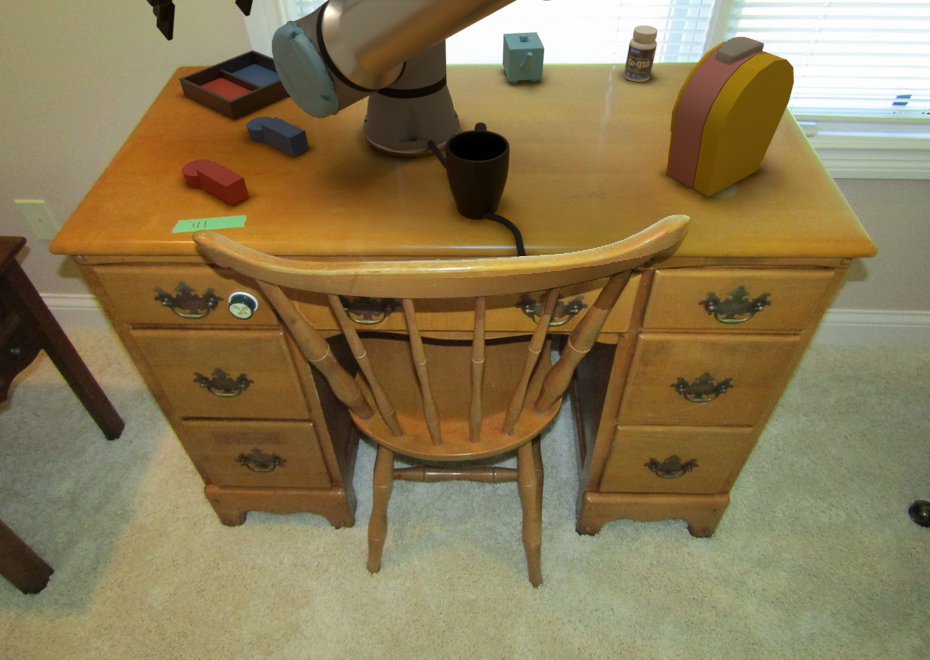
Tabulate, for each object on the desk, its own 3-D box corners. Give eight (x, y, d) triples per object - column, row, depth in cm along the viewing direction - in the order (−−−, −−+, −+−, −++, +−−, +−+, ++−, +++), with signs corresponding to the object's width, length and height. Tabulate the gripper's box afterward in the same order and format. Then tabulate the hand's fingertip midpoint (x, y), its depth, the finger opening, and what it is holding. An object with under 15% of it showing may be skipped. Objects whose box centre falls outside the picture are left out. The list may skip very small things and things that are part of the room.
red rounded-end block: (254, 194, 90) (248, 174, 88) (227, 208, 88) (220, 189, 85) (206, 167, 95) (200, 148, 93) (179, 180, 93) (172, 161, 90)
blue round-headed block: (312, 147, 99) (309, 128, 97) (289, 159, 97) (285, 140, 94) (266, 125, 104) (261, 106, 102) (243, 135, 102) (238, 117, 99)
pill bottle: (622, 80, 114) (630, 32, 108) (625, 70, 118) (633, 22, 112) (648, 83, 113) (658, 35, 107) (651, 73, 117) (660, 25, 111)
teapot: (545, 92, 112) (548, 49, 106) (511, 94, 111) (513, 51, 106) (532, 64, 120) (535, 22, 114) (501, 65, 119) (502, 24, 114)
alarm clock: (719, 144, 98) (756, 20, 85) (764, 166, 94) (812, 39, 81) (654, 176, 92) (683, 47, 79) (699, 201, 87) (739, 69, 74)
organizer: (307, 86, 114) (304, 70, 112) (234, 119, 106) (229, 102, 103) (256, 65, 121) (252, 49, 119) (184, 95, 112) (178, 78, 110)
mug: (511, 178, 92) (513, 117, 85) (504, 227, 84) (507, 163, 77) (455, 175, 93) (453, 114, 86) (443, 223, 84) (440, 160, 78)
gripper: (282, -144, 85) (256, -18, 103) (105, -117, 71) (111, 23, 89) (317, -100, 85) (286, 18, 103) (148, -64, 71) (145, 64, 89)
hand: (205, 20), depth 96 cm, fingers open, 13 cm apart
